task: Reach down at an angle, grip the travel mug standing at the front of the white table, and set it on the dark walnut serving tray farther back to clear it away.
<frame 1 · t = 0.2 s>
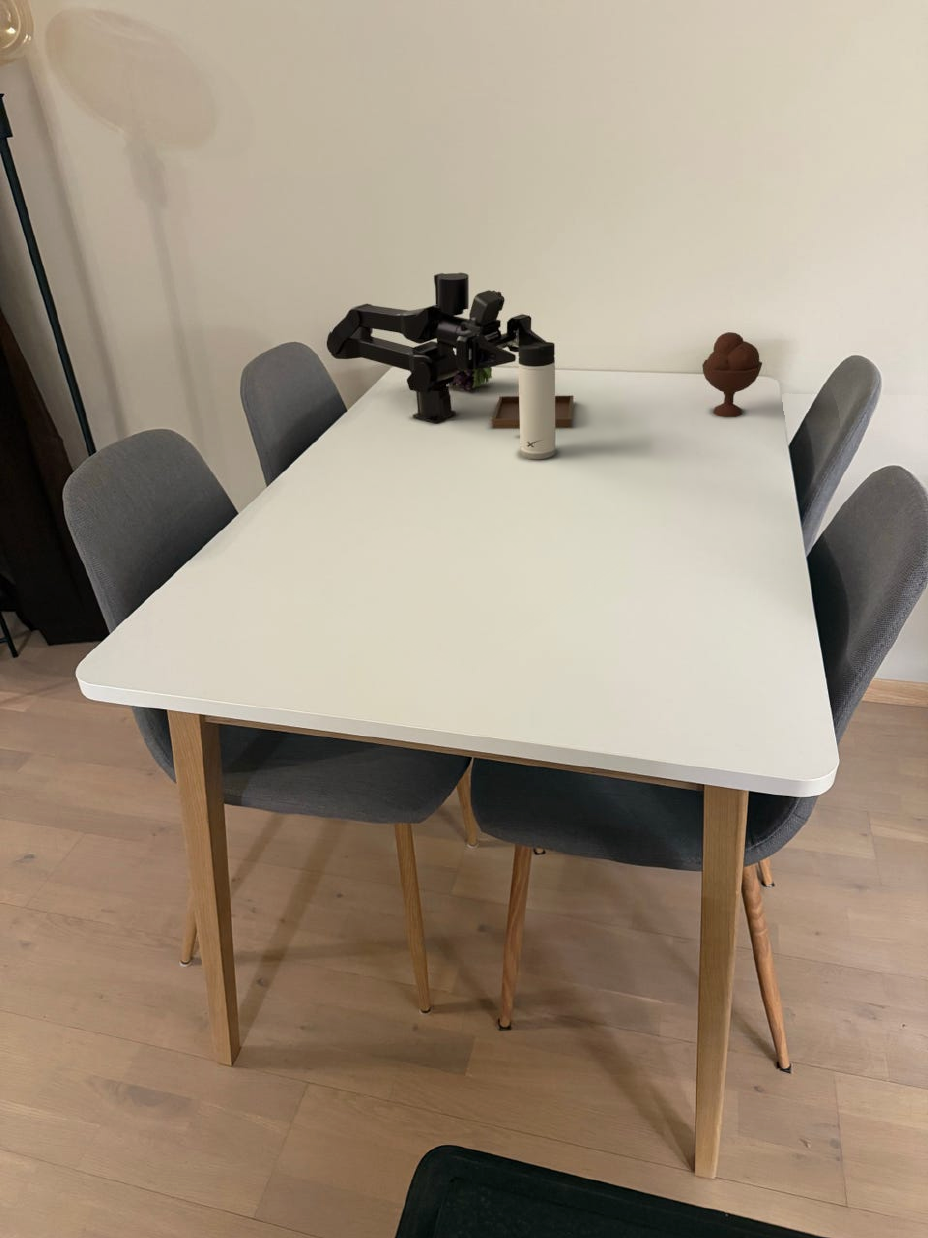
hand: (531, 351, 160), 17 cm above the table, tool horizontal, fingers open, 9 cm apart
ice cream bowl: (727, 413, 176), on the table
fruit: (469, 388, 198), on the table
serving tray: (534, 415, 180), on the table
travel mug: (538, 454, 163), on the table
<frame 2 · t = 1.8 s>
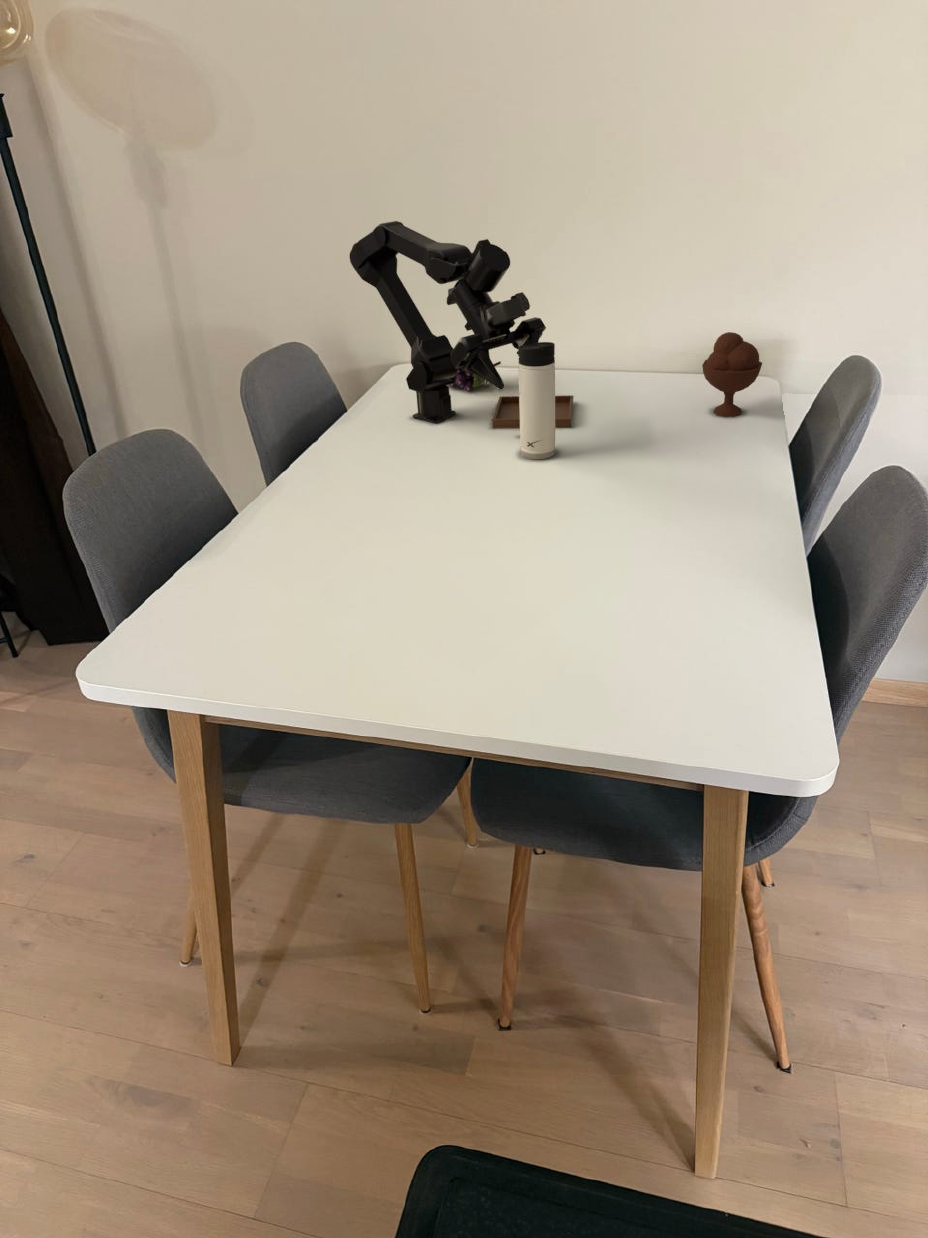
hand: (522, 381, 159), 12 cm above the table, tool tilted 45°, fingers open, 9 cm apart
nothing on the table moved.
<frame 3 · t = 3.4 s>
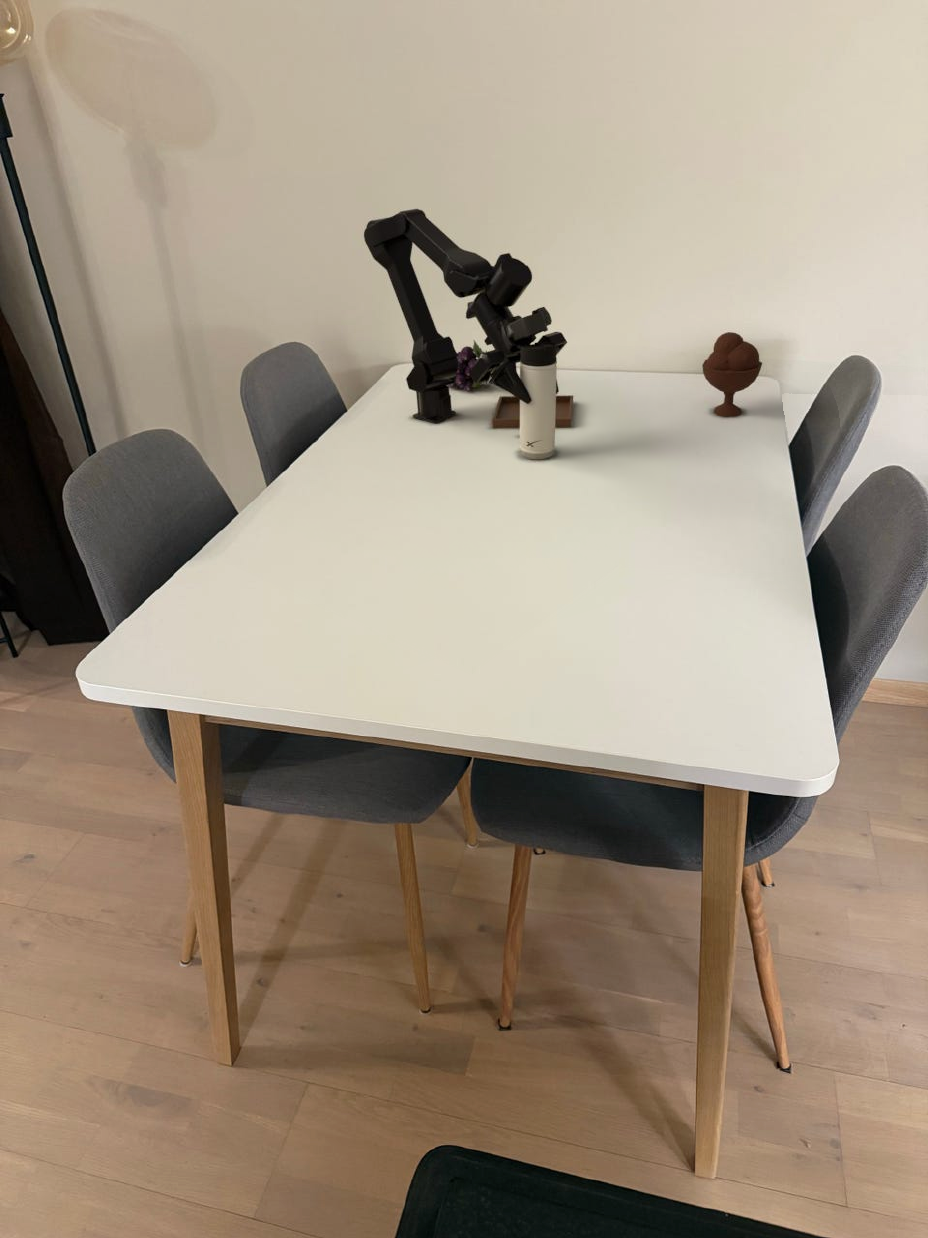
hand: (543, 397, 156), 11 cm above the table, tool tilted 45°, fingers closed on travel mug, 6 cm apart
travel mug: (537, 454, 163), on the table, touching gripper
everything else where it was.
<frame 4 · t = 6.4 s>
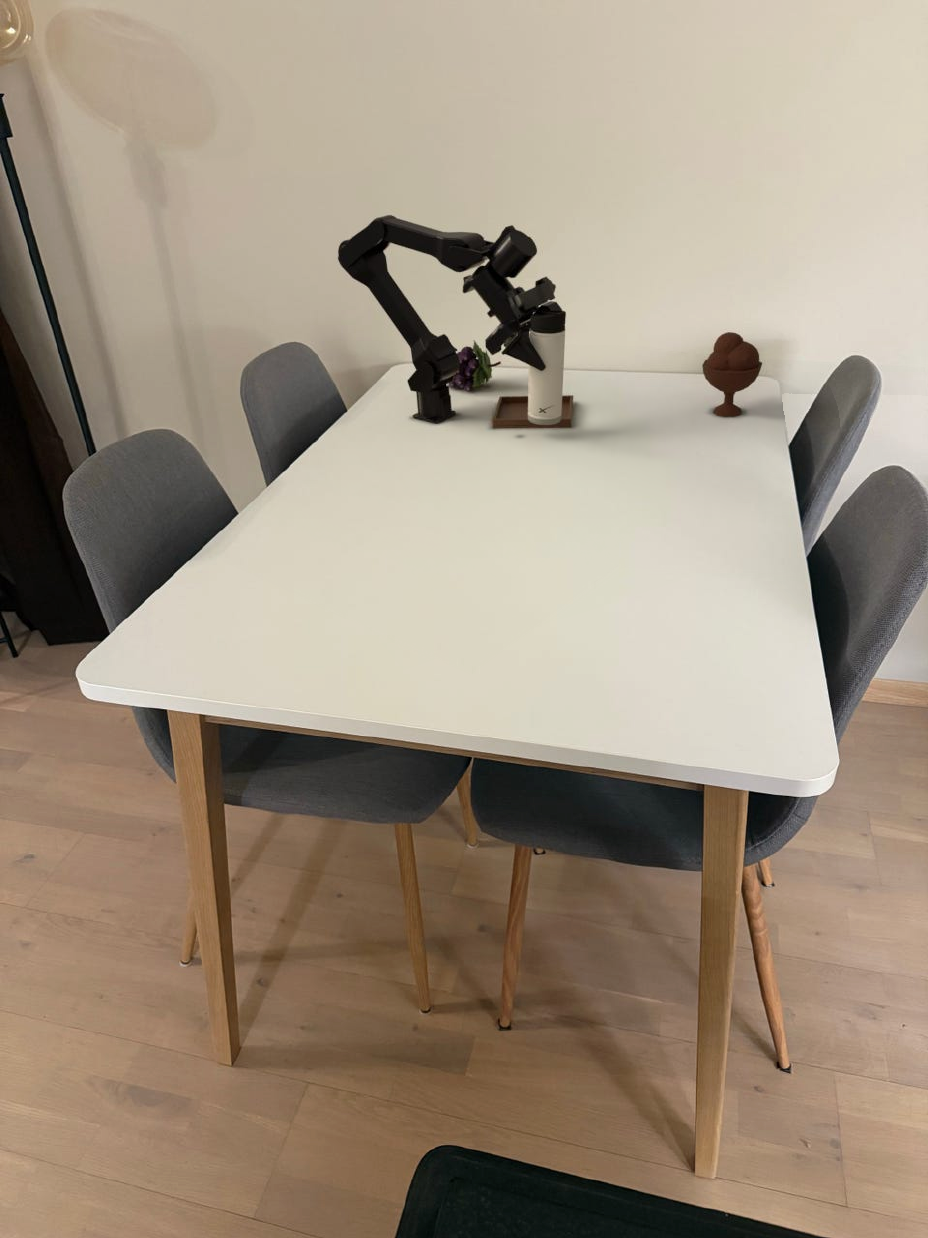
hand: (553, 364, 162), 14 cm above the table, tool tilted 45°, fingers closed on travel mug, 6 cm apart
travel mug: (545, 420, 169), point 3 cm above the table, touching gripper
everything else where it was.
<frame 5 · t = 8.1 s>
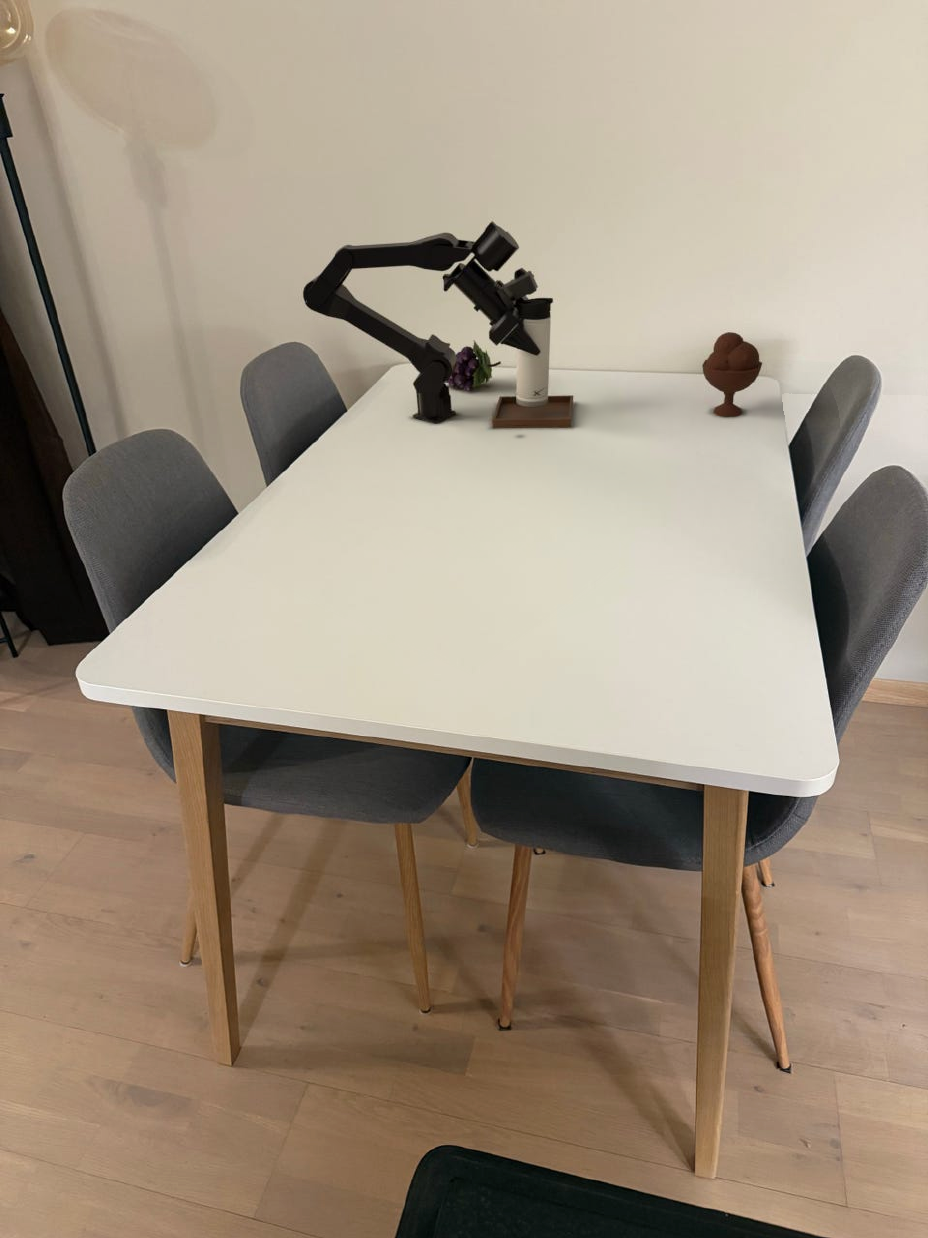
hand: (540, 348, 173), 13 cm above the table, tool tilted 45°, fingers closed on travel mug, 6 cm apart
travel mug: (532, 403, 179), point 3 cm above the table, touching gripper
everything else where it was.
when the fingers open (11 cm above the table, at t = 9.5 s): travel mug stays where it is, resting on serving tray.
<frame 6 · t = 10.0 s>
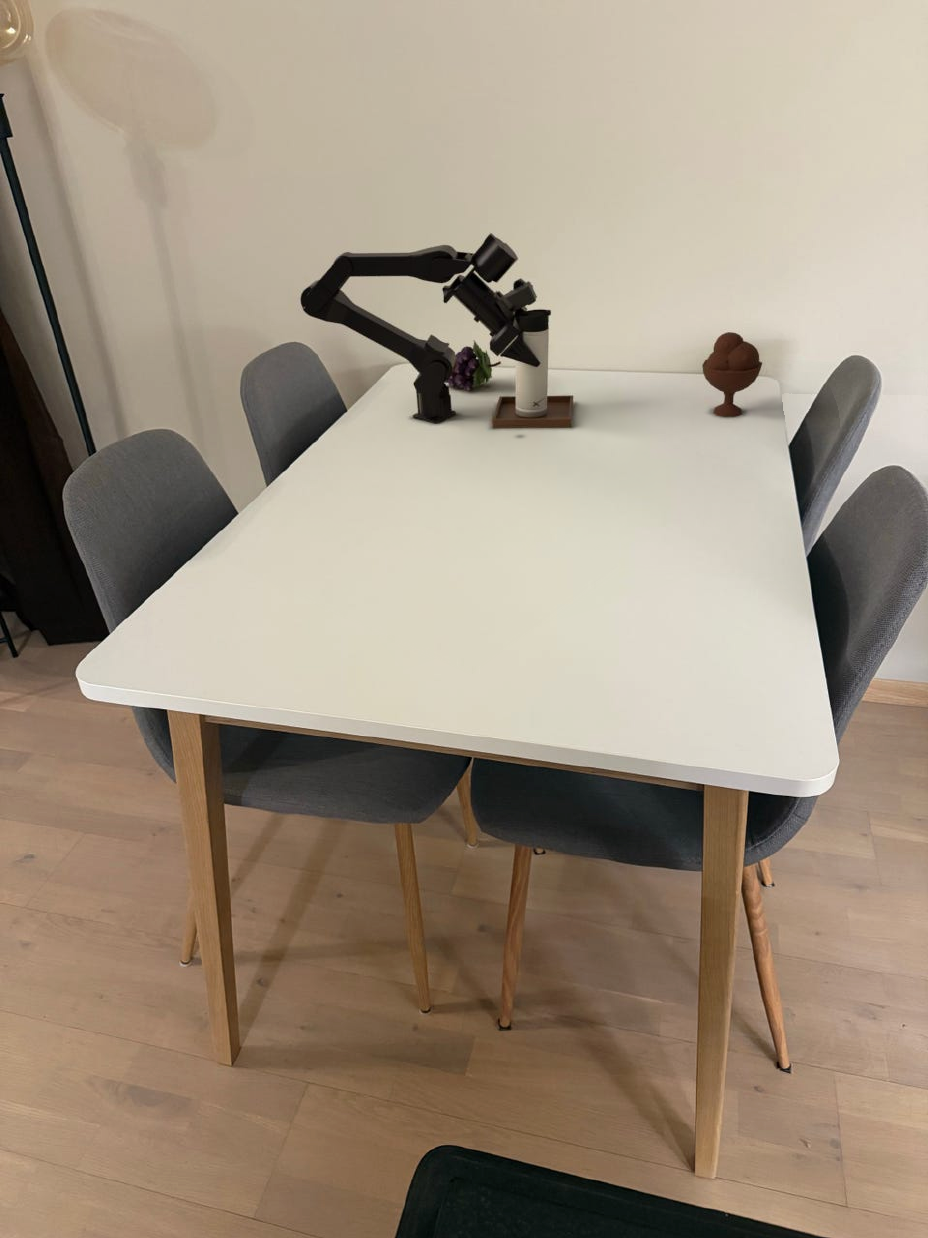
hand: (540, 358, 174), 11 cm above the table, tool tilted 45°, fingers open, 9 cm apart
travel mug: (532, 413, 180), resting on serving tray, touching gripper
everything else where it was.
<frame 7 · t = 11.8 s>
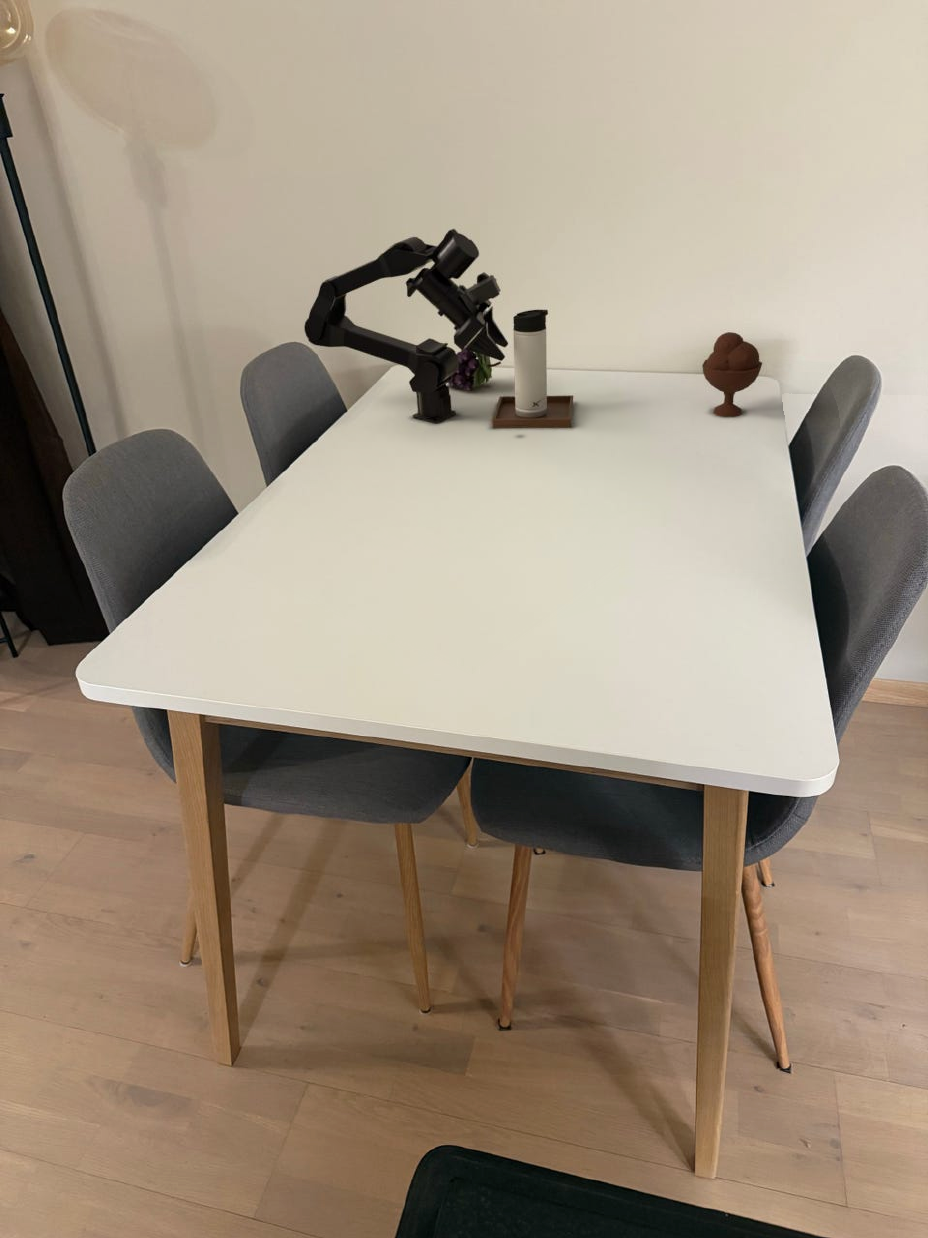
hand: (505, 351, 174), 13 cm above the table, tool tilted 45°, fingers open, 9 cm apart
travel mug: (532, 414, 180), resting on serving tray
everything else where it was.
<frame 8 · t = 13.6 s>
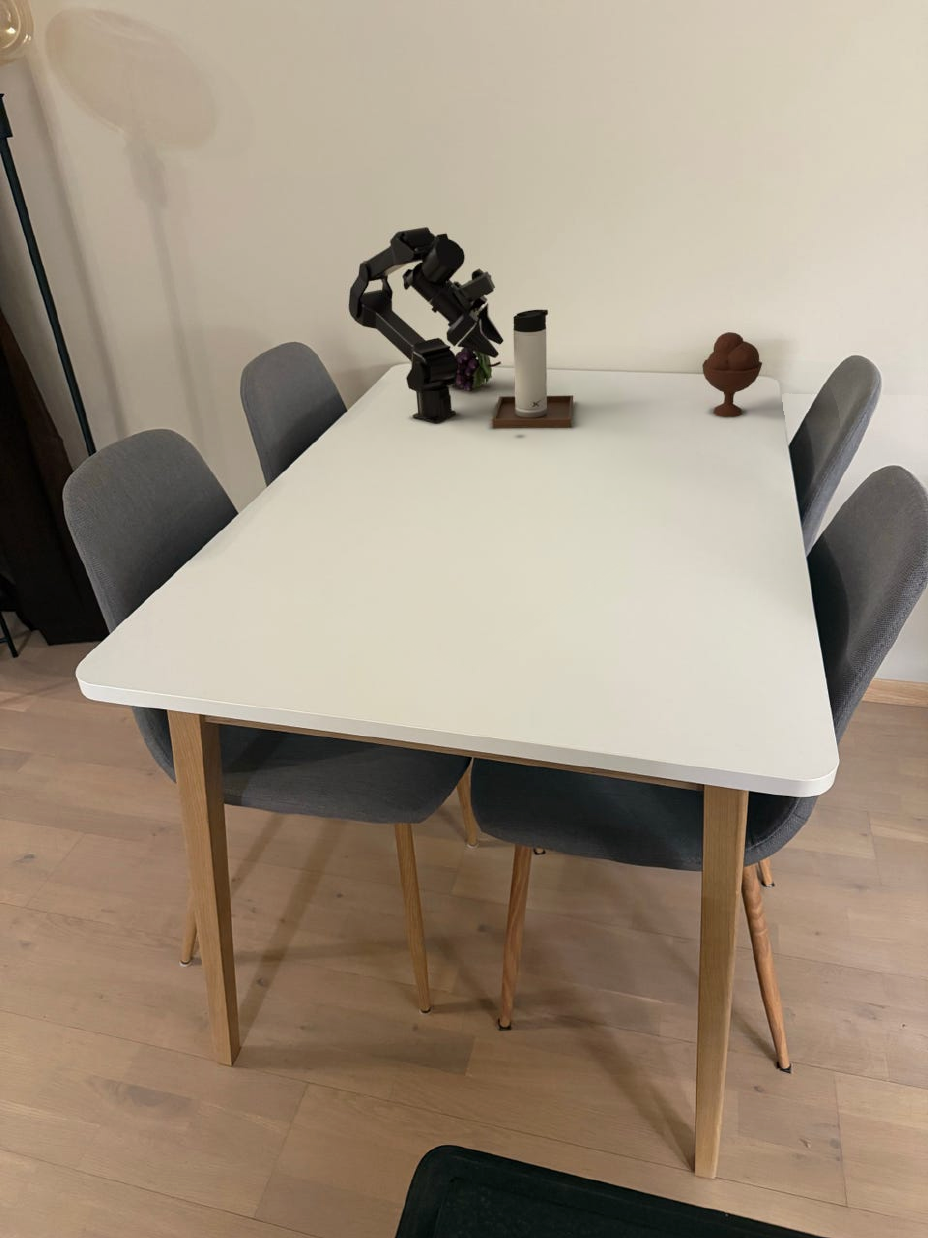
hand: (499, 349, 173), 14 cm above the table, tool tilted 45°, fingers open, 9 cm apart
nothing on the table moved.
at the end: travel mug inside the target area in the serving tray (0.4 cm from its centre), point 0.3 cm above the serving tray's base; travel mug tilted 0°; the gripper is holding nothing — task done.
